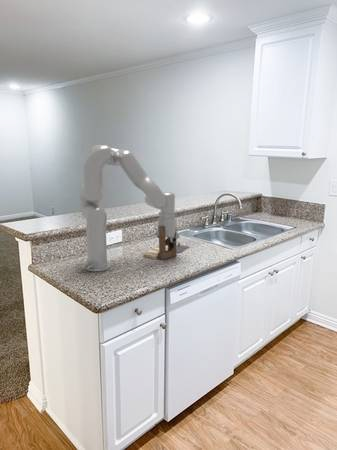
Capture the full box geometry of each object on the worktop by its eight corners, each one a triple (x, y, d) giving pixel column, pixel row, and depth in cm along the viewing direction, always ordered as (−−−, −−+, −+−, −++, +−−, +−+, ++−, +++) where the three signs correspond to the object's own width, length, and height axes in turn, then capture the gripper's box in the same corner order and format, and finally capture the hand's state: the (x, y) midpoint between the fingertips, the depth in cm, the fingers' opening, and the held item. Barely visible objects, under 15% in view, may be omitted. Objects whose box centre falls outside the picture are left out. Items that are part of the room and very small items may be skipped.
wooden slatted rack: (156, 259, 185) (156, 256, 184) (143, 257, 188) (143, 253, 188) (180, 245, 211) (180, 242, 210) (168, 244, 214) (168, 240, 214)
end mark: (179, 253, 196) (179, 252, 196) (170, 251, 198) (170, 251, 198) (189, 247, 208) (189, 246, 208) (181, 245, 210) (181, 245, 210)
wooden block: (176, 256, 190) (176, 224, 187) (162, 260, 183) (161, 227, 180) (172, 254, 193) (171, 223, 190) (157, 258, 186) (156, 226, 183)
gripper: (150, 215, 184) (150, 247, 188) (178, 218, 176) (178, 252, 180) (157, 212, 190) (157, 244, 194) (184, 215, 182) (184, 248, 187)
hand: (167, 247), depth 187 cm, fingers closed on wooden block, 4 cm apart
